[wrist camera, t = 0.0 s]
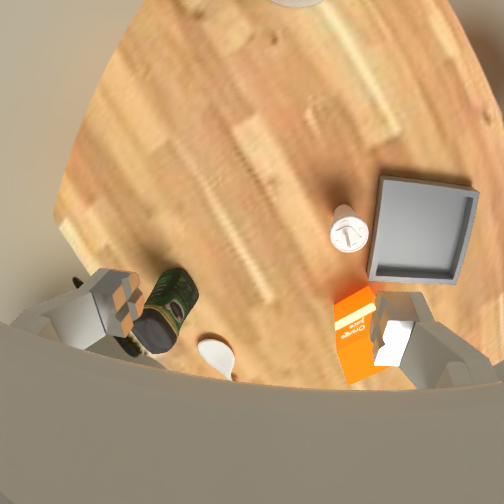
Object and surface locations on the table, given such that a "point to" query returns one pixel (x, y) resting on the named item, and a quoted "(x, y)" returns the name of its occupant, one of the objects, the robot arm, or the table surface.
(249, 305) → the table surface
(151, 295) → the coffee jar
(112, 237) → the table surface
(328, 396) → the robot arm
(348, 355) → the orange juice
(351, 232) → the smoothie
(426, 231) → the tray
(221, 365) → the spoon
